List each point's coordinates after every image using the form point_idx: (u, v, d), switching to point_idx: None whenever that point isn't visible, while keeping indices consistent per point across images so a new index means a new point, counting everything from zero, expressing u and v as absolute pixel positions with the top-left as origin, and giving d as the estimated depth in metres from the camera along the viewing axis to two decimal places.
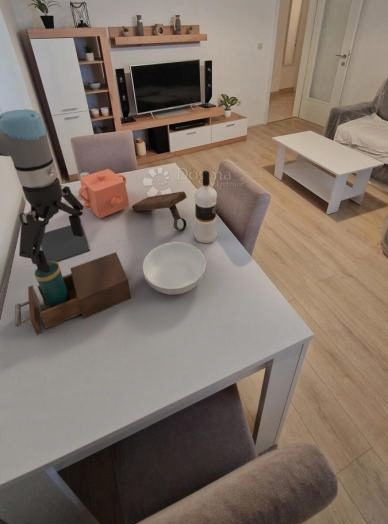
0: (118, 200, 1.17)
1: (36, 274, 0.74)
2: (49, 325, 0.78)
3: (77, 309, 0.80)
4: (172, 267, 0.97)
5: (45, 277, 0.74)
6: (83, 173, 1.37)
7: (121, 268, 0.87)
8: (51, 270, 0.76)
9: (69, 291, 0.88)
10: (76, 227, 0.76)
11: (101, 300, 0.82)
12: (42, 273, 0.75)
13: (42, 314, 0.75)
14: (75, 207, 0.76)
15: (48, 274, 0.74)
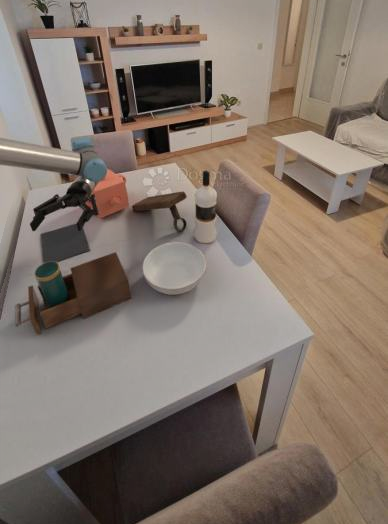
0: (118, 200, 1.17)
1: (36, 274, 0.74)
2: (49, 325, 0.78)
3: (77, 309, 0.80)
4: (172, 267, 0.97)
5: (45, 277, 0.74)
6: None
7: (121, 268, 0.87)
8: (51, 270, 0.76)
9: (69, 291, 0.88)
10: (39, 221, 0.84)
11: (101, 300, 0.82)
12: (42, 273, 0.75)
13: (42, 314, 0.75)
14: None
15: (48, 274, 0.74)
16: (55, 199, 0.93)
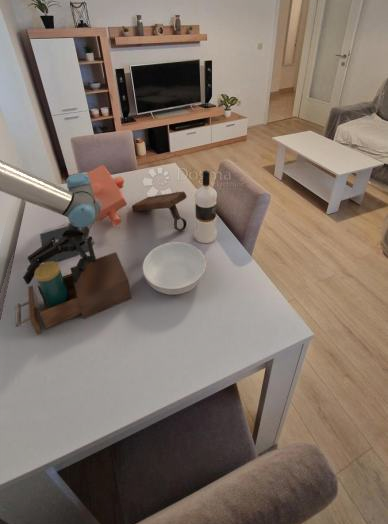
0: (116, 221, 1.13)
1: (36, 274, 0.74)
2: (49, 325, 0.78)
3: (77, 309, 0.80)
4: (172, 267, 0.97)
5: (45, 277, 0.74)
6: None
7: (121, 268, 0.87)
8: (51, 270, 0.76)
9: (69, 291, 0.88)
10: (33, 272, 0.79)
11: (101, 300, 0.82)
12: (42, 273, 0.75)
13: (42, 314, 0.75)
14: None
15: (48, 274, 0.74)
16: (51, 243, 0.88)
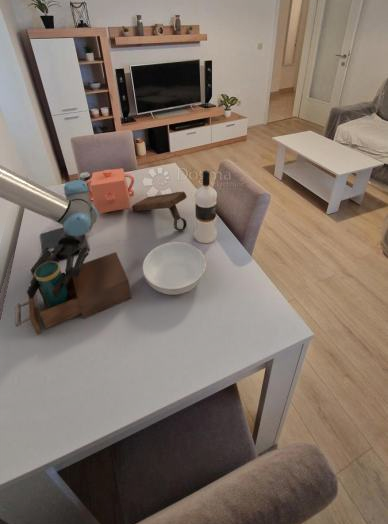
0: (110, 197, 1.14)
1: (36, 274, 0.74)
2: (49, 325, 0.78)
3: (77, 309, 0.80)
4: (172, 267, 0.97)
5: (45, 277, 0.74)
6: (83, 173, 1.37)
7: (121, 268, 0.87)
8: (51, 270, 0.76)
9: (69, 291, 0.88)
10: (37, 286, 0.76)
11: (101, 300, 0.82)
12: (42, 273, 0.75)
13: (42, 314, 0.75)
14: None
15: (48, 274, 0.74)
16: (47, 253, 0.86)
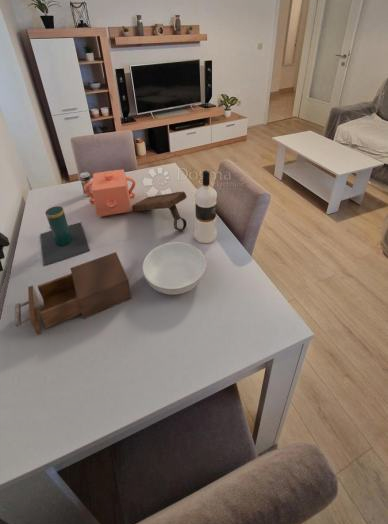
0: (111, 204, 1.15)
1: (50, 214, 1.01)
2: (49, 325, 0.78)
3: (77, 309, 0.80)
4: (172, 267, 0.97)
5: (59, 212, 1.02)
6: (83, 173, 1.37)
7: (121, 268, 0.87)
8: (58, 209, 1.03)
9: (69, 291, 0.88)
10: None
11: (101, 300, 0.82)
12: (54, 212, 1.02)
13: (42, 314, 0.75)
14: None
15: (59, 211, 1.03)
16: None
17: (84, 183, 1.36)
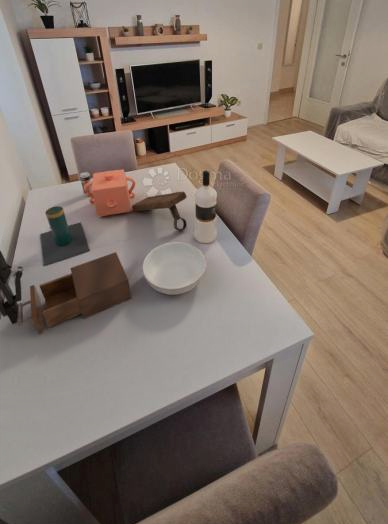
0: (111, 204, 1.15)
1: (50, 214, 1.01)
2: (51, 325, 0.78)
3: (78, 308, 0.80)
4: (172, 267, 0.97)
5: (59, 212, 1.02)
6: (83, 173, 1.37)
7: (121, 268, 0.87)
8: (58, 209, 1.03)
9: (71, 290, 0.88)
10: None
11: (101, 300, 0.82)
12: (54, 212, 1.02)
13: (44, 313, 0.75)
14: (15, 295, 0.75)
15: (59, 211, 1.03)
16: None
17: (84, 183, 1.36)
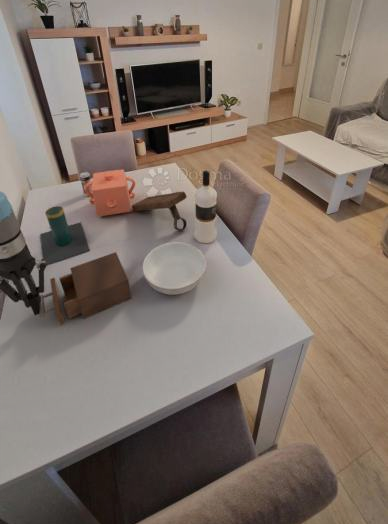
0: (111, 204, 1.15)
1: (50, 214, 1.01)
2: (71, 316, 0.80)
3: None
4: (172, 267, 0.97)
5: (59, 212, 1.02)
6: (83, 173, 1.37)
7: (121, 268, 0.87)
8: (58, 209, 1.03)
9: None
10: None
11: (101, 300, 0.82)
12: (54, 212, 1.02)
13: (66, 304, 0.78)
14: (38, 287, 0.77)
15: (59, 211, 1.03)
16: None
17: (84, 183, 1.36)
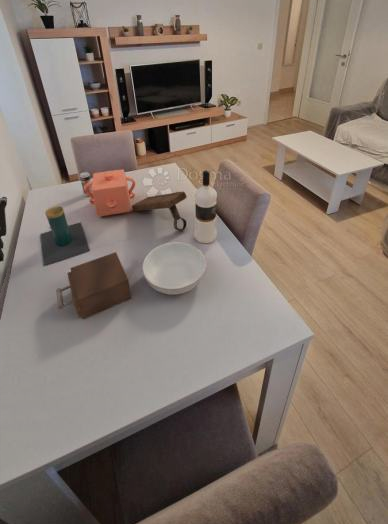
0: (111, 204, 1.15)
1: (50, 214, 1.01)
2: None
3: None
4: (172, 267, 0.97)
5: (59, 212, 1.02)
6: (83, 173, 1.37)
7: (121, 268, 0.87)
8: (58, 209, 1.03)
9: None
10: None
11: (101, 300, 0.82)
12: (54, 212, 1.02)
13: None
14: None
15: (59, 211, 1.03)
16: None
17: (84, 183, 1.36)
